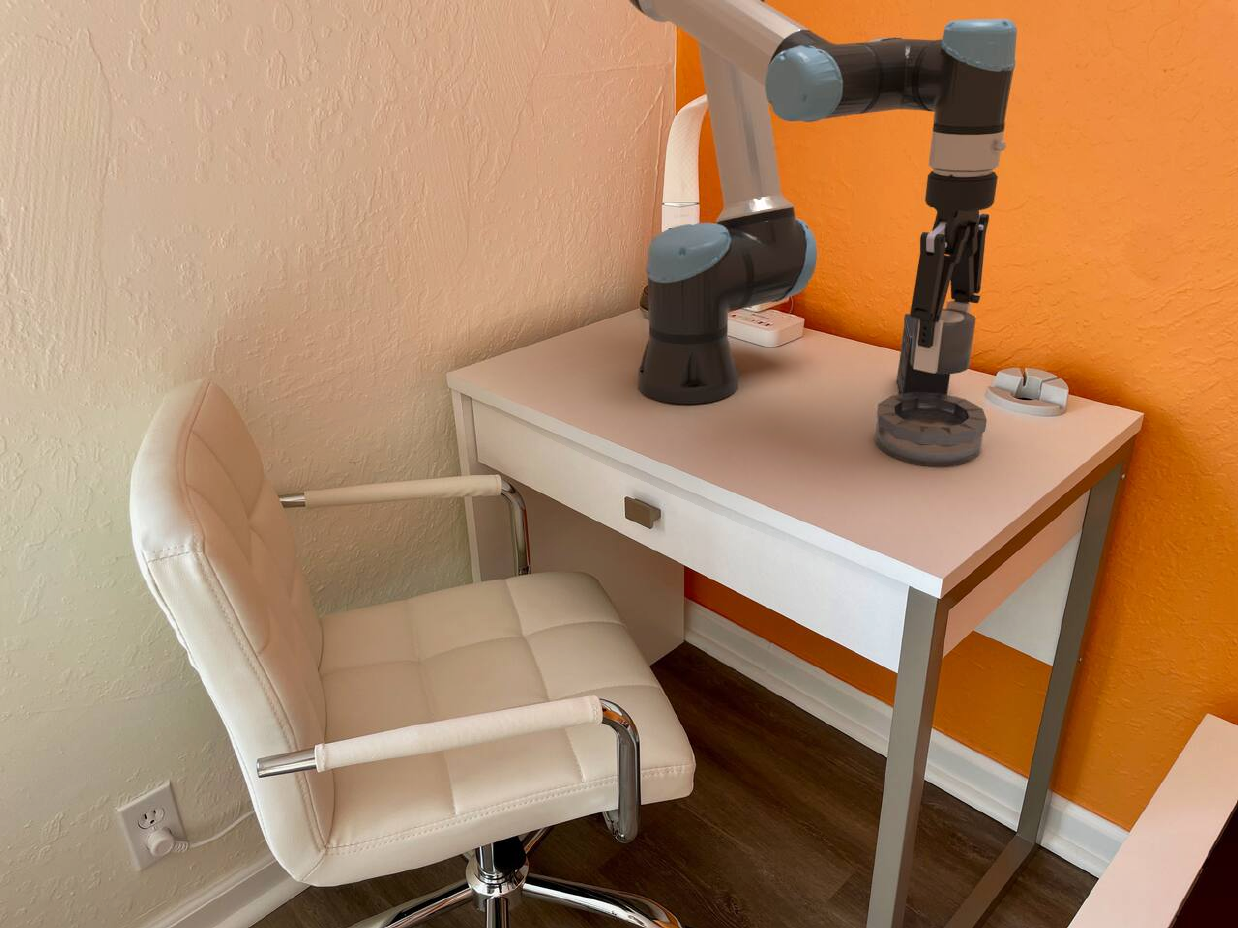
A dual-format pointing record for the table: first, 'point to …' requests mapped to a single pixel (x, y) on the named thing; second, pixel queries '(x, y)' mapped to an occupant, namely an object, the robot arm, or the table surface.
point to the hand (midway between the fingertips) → (938, 361)
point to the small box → (911, 377)
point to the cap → (952, 341)
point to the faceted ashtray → (930, 429)
